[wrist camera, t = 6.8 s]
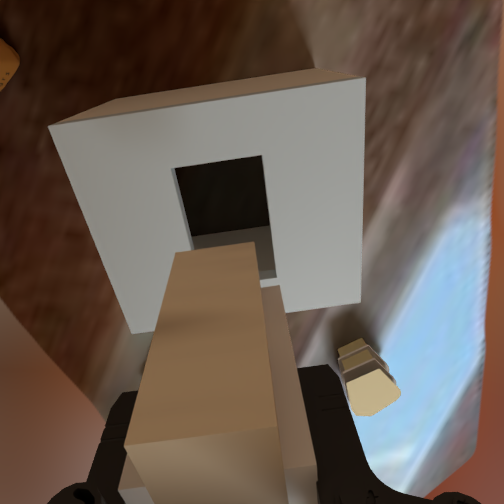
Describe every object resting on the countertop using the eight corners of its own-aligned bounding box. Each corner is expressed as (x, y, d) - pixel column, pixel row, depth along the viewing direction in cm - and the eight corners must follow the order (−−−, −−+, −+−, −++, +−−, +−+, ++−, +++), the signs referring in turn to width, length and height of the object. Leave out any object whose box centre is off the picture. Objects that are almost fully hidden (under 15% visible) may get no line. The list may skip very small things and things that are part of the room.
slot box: (321, 227, 35) (360, 302, 24) (161, 250, 35) (131, 334, 25) (315, 67, 28) (365, 77, 17) (115, 98, 28) (47, 126, 18)
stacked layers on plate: (306, 348, 43) (316, 385, 38) (374, 316, 41) (393, 351, 36) (341, 393, 48) (353, 431, 43) (403, 366, 46) (424, 402, 41)
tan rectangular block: (271, 361, 15) (297, 564, 9) (207, 369, 15) (193, 577, 9) (254, 241, 12) (277, 426, 6) (175, 252, 12) (123, 446, 6)
